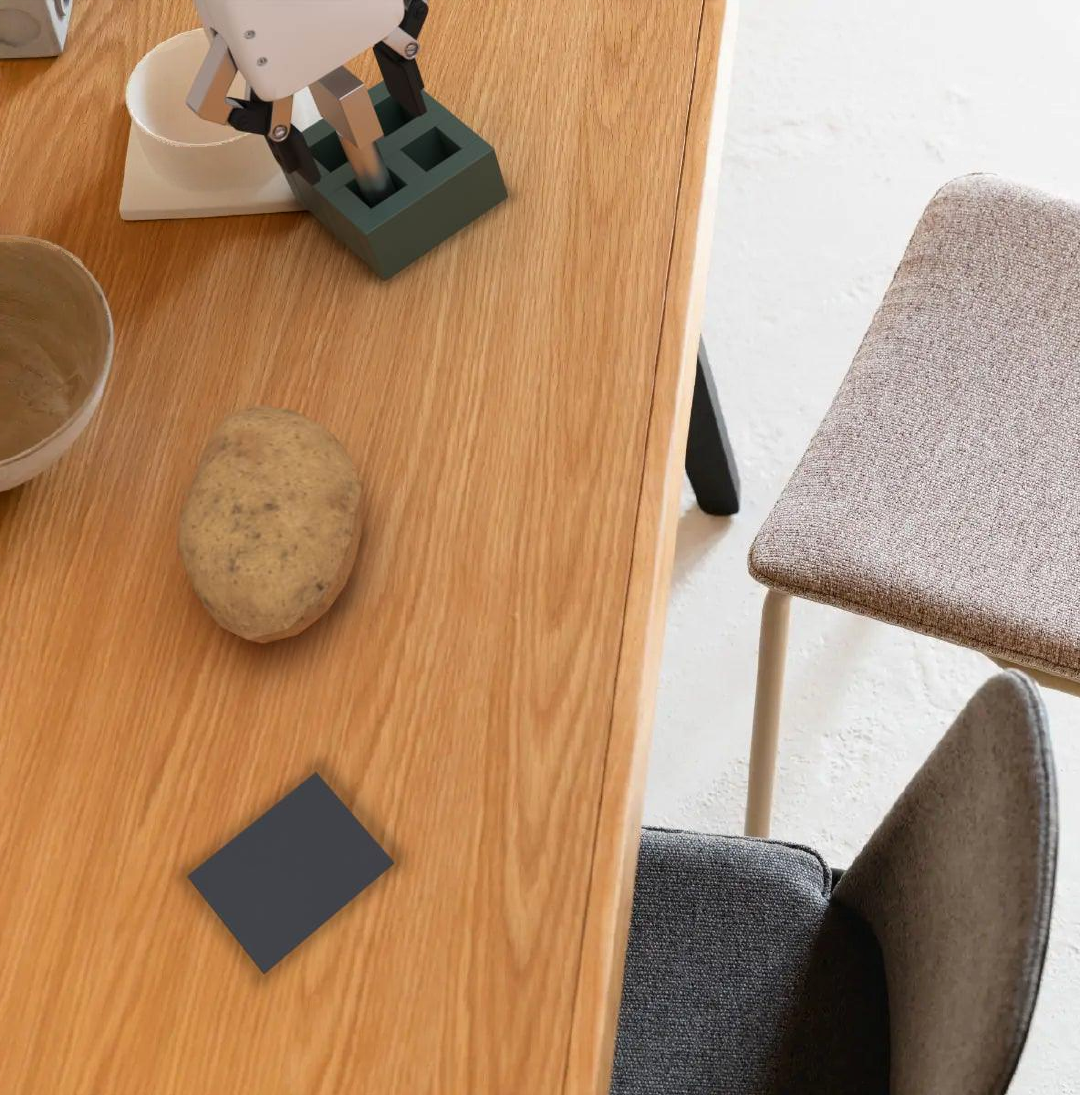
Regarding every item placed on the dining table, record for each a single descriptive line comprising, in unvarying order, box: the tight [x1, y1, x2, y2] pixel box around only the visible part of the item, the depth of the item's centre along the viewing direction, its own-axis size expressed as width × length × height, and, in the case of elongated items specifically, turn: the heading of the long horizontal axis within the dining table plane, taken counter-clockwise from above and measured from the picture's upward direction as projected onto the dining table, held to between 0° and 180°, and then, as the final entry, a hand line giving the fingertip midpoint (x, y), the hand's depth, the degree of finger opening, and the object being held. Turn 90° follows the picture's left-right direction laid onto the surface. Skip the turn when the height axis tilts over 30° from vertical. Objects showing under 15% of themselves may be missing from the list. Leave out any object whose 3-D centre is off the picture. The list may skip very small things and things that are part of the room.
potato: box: [176, 404, 366, 644], centre depth 81 cm, size 10×14×8 cm
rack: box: [279, 79, 509, 282], centre depth 95 cm, size 10×10×5 cm
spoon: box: [307, 64, 396, 209], centre depth 90 cm, size 4×2×14 cm, turn 45°
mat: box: [187, 771, 395, 975], centre depth 75 cm, size 7×8×1 cm
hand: (356, 135), depth 88 cm, fingers open, 7 cm apart
